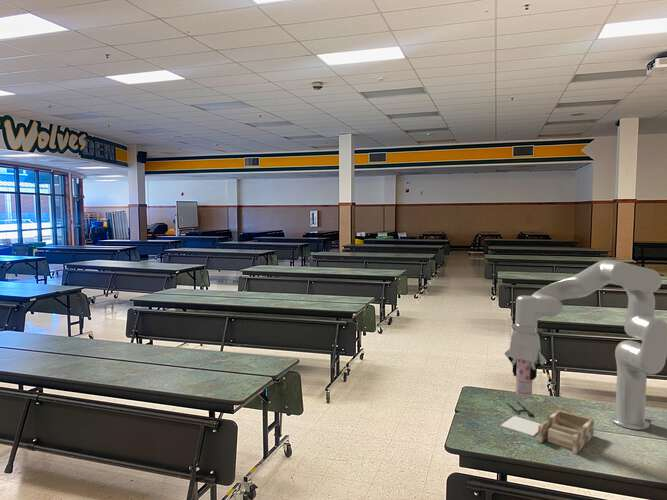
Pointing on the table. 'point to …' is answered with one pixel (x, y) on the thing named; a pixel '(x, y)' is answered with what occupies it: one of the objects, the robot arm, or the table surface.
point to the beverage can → (523, 378)
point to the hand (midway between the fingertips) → (524, 376)
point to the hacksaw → (521, 410)
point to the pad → (521, 426)
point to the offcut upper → (561, 433)
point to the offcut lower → (560, 442)
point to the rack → (569, 421)
